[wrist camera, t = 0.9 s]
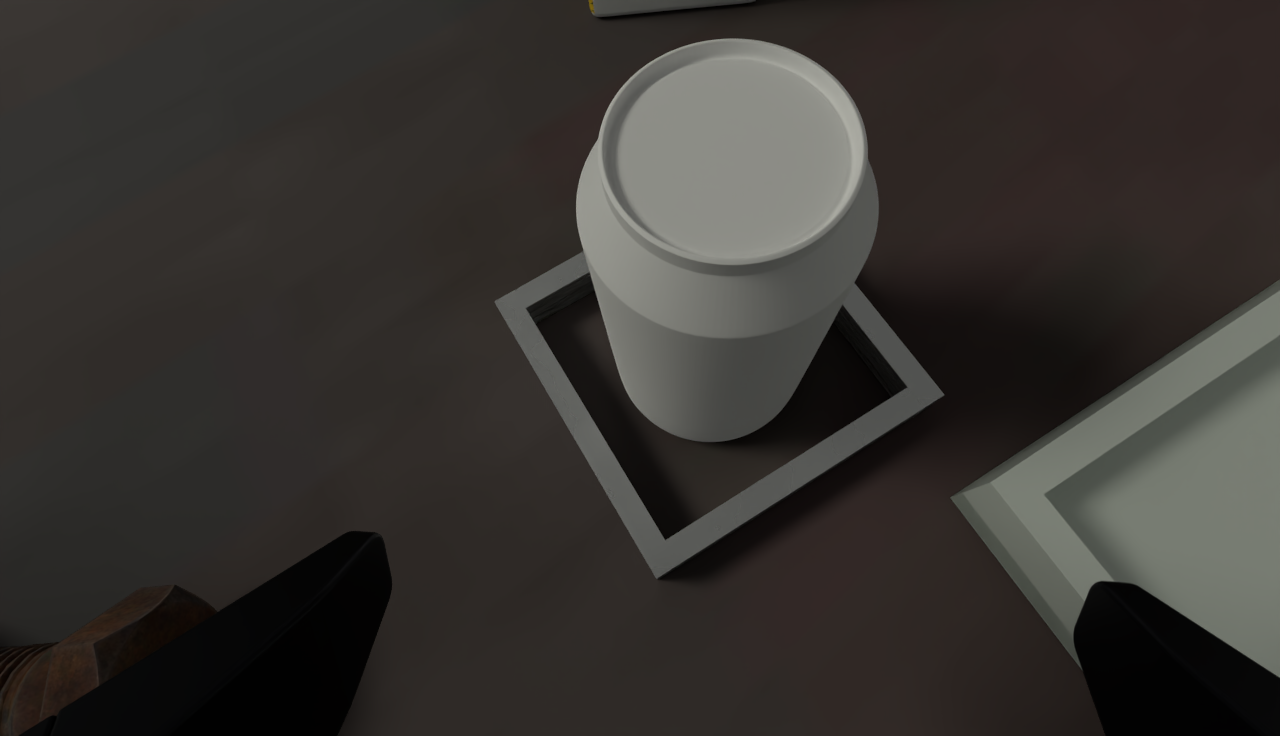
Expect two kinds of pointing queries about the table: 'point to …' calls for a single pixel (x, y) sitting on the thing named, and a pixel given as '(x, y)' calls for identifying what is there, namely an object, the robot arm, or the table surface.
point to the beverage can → (724, 229)
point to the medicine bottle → (651, 5)
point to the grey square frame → (663, 556)
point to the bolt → (92, 654)
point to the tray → (1157, 491)
